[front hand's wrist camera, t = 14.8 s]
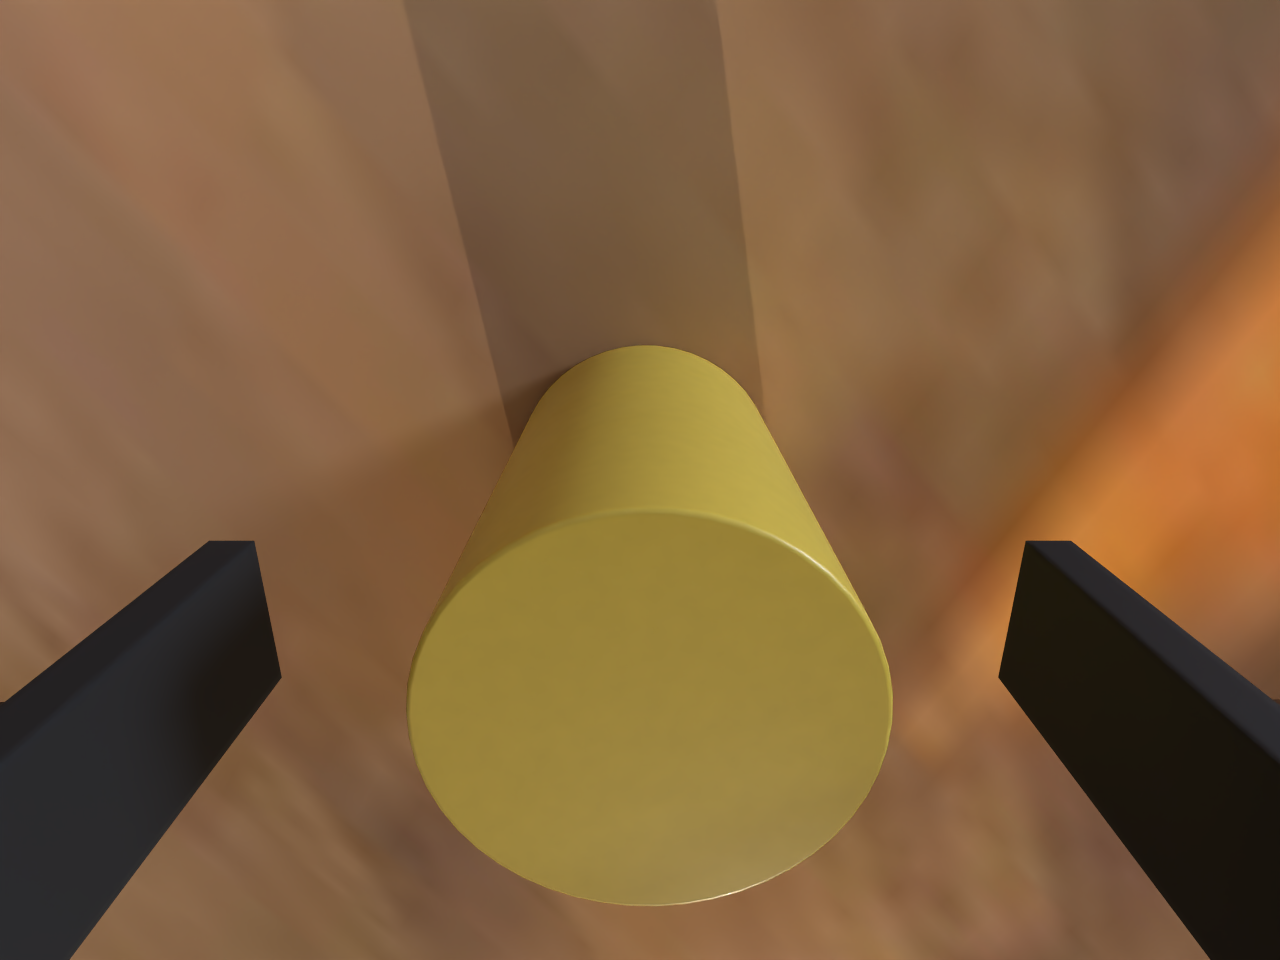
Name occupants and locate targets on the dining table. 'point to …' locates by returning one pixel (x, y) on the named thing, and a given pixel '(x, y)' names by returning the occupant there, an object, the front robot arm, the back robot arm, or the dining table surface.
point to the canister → (648, 649)
